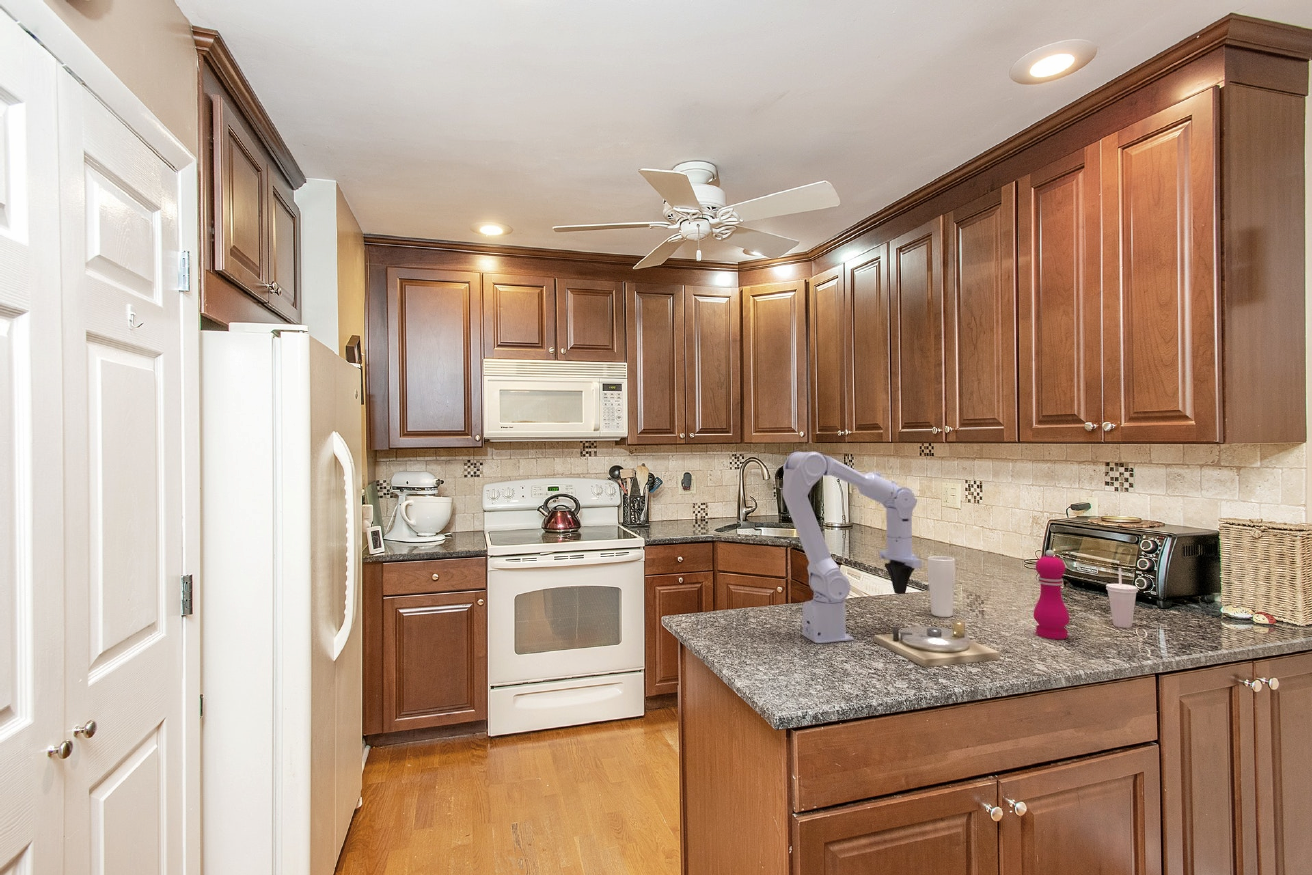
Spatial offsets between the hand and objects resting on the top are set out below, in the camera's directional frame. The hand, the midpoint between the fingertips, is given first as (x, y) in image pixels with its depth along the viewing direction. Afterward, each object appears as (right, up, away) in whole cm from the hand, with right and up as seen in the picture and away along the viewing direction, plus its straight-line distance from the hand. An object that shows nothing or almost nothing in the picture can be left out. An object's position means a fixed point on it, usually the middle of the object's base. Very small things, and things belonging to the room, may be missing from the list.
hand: (899, 593), depth 159 cm
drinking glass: (+17, -10, +15) cm, 24 cm away
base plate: (+2, -9, -14) cm, 17 cm away
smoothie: (+56, -9, +3) cm, 57 cm away
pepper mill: (+34, -9, -4) cm, 35 cm away
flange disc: (+2, -7, -14) cm, 16 cm away
